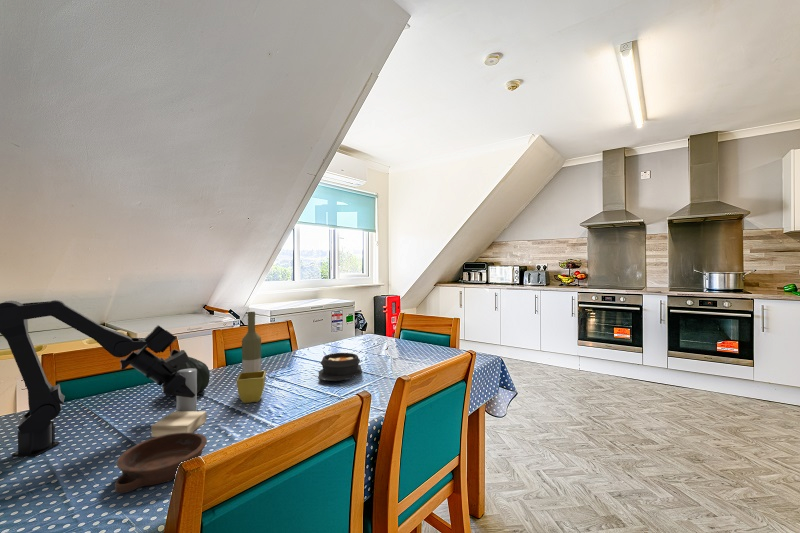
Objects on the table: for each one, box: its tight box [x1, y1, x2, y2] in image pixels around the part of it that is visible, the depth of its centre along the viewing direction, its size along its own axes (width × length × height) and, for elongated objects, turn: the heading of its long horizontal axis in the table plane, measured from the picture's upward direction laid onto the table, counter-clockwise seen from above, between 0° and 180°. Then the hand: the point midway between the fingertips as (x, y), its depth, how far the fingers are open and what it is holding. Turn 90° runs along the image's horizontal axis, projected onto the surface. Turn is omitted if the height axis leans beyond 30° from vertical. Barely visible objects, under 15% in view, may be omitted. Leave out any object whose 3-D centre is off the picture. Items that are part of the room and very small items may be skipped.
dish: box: [114, 432, 208, 494], centre depth 85 cm, size 17×22×5 cm
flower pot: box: [236, 370, 266, 404], centre depth 128 cm, size 9×9×9 cm
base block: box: [150, 410, 207, 438], centre depth 106 cm, size 10×10×3 cm
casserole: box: [317, 352, 363, 382], centre depth 156 cm, size 25×19×8 cm
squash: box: [176, 356, 211, 394], centre depth 135 cm, size 14×15×15 cm
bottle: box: [241, 311, 262, 373], centre depth 138 cm, size 7×7×30 cm
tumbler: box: [175, 368, 198, 411], centre depth 116 cm, size 6×6×14 cm
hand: (191, 392), depth 117 cm, fingers open, 8 cm apart
